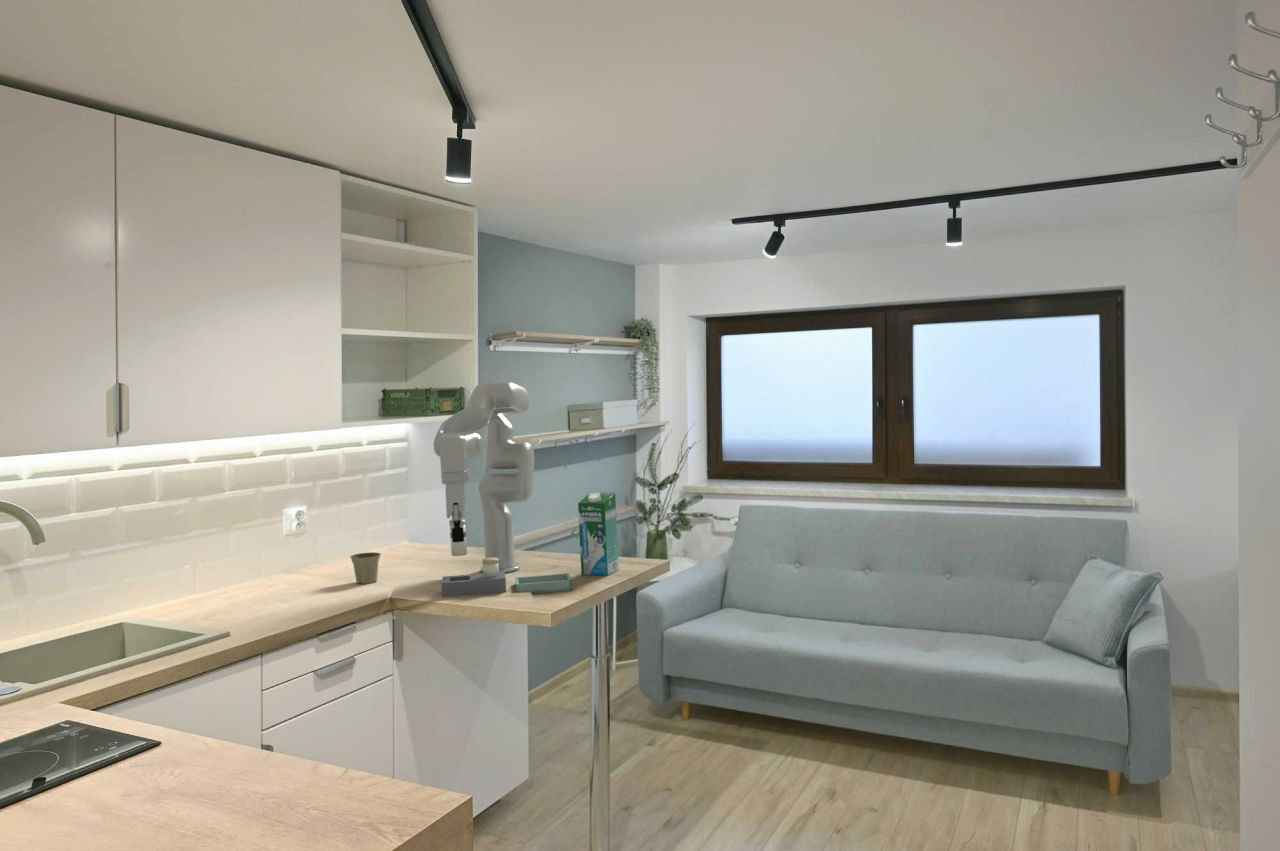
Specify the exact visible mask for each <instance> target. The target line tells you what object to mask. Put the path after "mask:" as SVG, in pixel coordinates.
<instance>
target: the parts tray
mask: <svg viewBox="0 0 1280 851" xmlns="http://www.w3.org/2000/svg"><path fill="white" fill-rule="evenodd" d="M514 578H515V588H516V589H515V590H516V592H517V593H518V592H529V591H530V594H532V595H533V594H535V595H536V594H544V593H545V594H546V593H558V592H570V591H571V592H572V591H573V579H572V577H571V575H570V573H555V574H545V575H544V574H543V575H529V576H528V575H527V576H516V577H514Z"/></svg>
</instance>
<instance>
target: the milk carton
mask: <svg viewBox="0 0 1280 851" xmlns="http://www.w3.org/2000/svg"><path fill="white" fill-rule="evenodd" d="M616 499H617V498H616V492H589V493H588V494H587V495H585V497H583V499H581V500H580V501H578V503H577V505H578V507H577V508H578V510H577V511H578V526H579V527H578V528H579V547H580V552H579V553H580V571H581V572H580V573H581V574H580V575H582V576H604V577H608V576H609V575H612V574H613V573H615V572H617V571H619V549H618V548H619V546H618V524H617V504H616Z"/></svg>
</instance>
